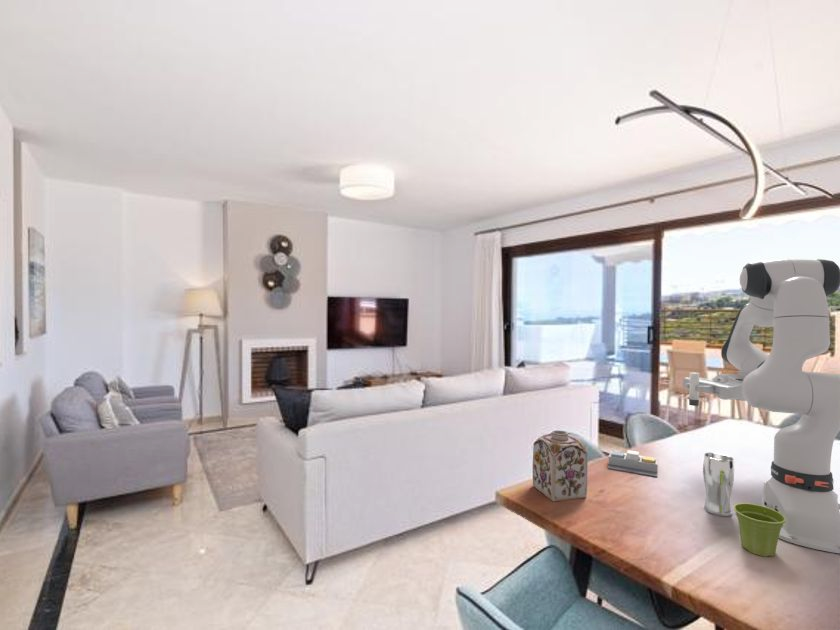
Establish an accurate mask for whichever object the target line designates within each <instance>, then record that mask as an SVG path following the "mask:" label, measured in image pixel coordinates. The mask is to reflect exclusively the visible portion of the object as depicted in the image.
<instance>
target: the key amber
mask: <svg viewBox="0 0 840 630" xmlns="http://www.w3.org/2000/svg"><path fill="white" fill-rule="evenodd" d="M642 456H643V460H642V462H648V463H654V464H655V459H656V457H652V456H647V455H642Z"/></svg>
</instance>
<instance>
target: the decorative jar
mask: <svg viewBox="0 0 840 630" xmlns="http://www.w3.org/2000/svg"><path fill="white" fill-rule="evenodd" d="M532 445H533V448H532V486H533V488H535V489H537V490H538V491H539V492H540V493H542V494H543V495H544V496H545V497H547V498H548V499H549V500H550V501H552V502H560V501H561V502H563V501H569V500H576V499H578V500H579V499H585V498H587V496H588V495H587V494H588V463H589V462H588V460H589V459H588V457H589V455H588V450H587V449H586V447H585V446H584V444H583V442H582V441H581V440H580V439H579V438H577V437H574V436H572V435H569V433H568V432H567V431H564V430H558V429H557V430H552V431H551V433H546V434H543V435H541V436H540V437H538V438H537V439H536V440H535V441H534V442H533V444H532Z"/></svg>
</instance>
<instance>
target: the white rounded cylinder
mask: <svg viewBox="0 0 840 630" xmlns="http://www.w3.org/2000/svg"><path fill="white" fill-rule="evenodd" d="M689 377H690V382H689V389H688V391H689V392H688V393H689V394H688V395H689V397H688V404H689V406H694V407H695V406H696V407H697V406H699V405H700V404H699V403H700V392H698V391H695V386H699V378H700V373H699V372H689Z"/></svg>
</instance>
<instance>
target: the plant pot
mask: <svg viewBox="0 0 840 630" xmlns="http://www.w3.org/2000/svg"><path fill="white" fill-rule="evenodd" d="M733 511H735V514H736V515H735V516H736V517H737V523H738V529H739V536H740V542H741V543H740V544H741V547H742V548H744V549H745V550H747V551H748V552H749V553H752V554H754V555H758V556H761V557H768V556H771V557H774V556H775V555H776V551H777V546H778V542H779V539H780V538H779V534H780V530H781V528H782V526H783V523H785V522H786V518H785V516H784V515H782V514H781V513H779V512H777V511H775V510H773V509H770V508H768V507H764V506H762V504H755V503H748V502H740V503H736V504H734V505H733Z"/></svg>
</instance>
